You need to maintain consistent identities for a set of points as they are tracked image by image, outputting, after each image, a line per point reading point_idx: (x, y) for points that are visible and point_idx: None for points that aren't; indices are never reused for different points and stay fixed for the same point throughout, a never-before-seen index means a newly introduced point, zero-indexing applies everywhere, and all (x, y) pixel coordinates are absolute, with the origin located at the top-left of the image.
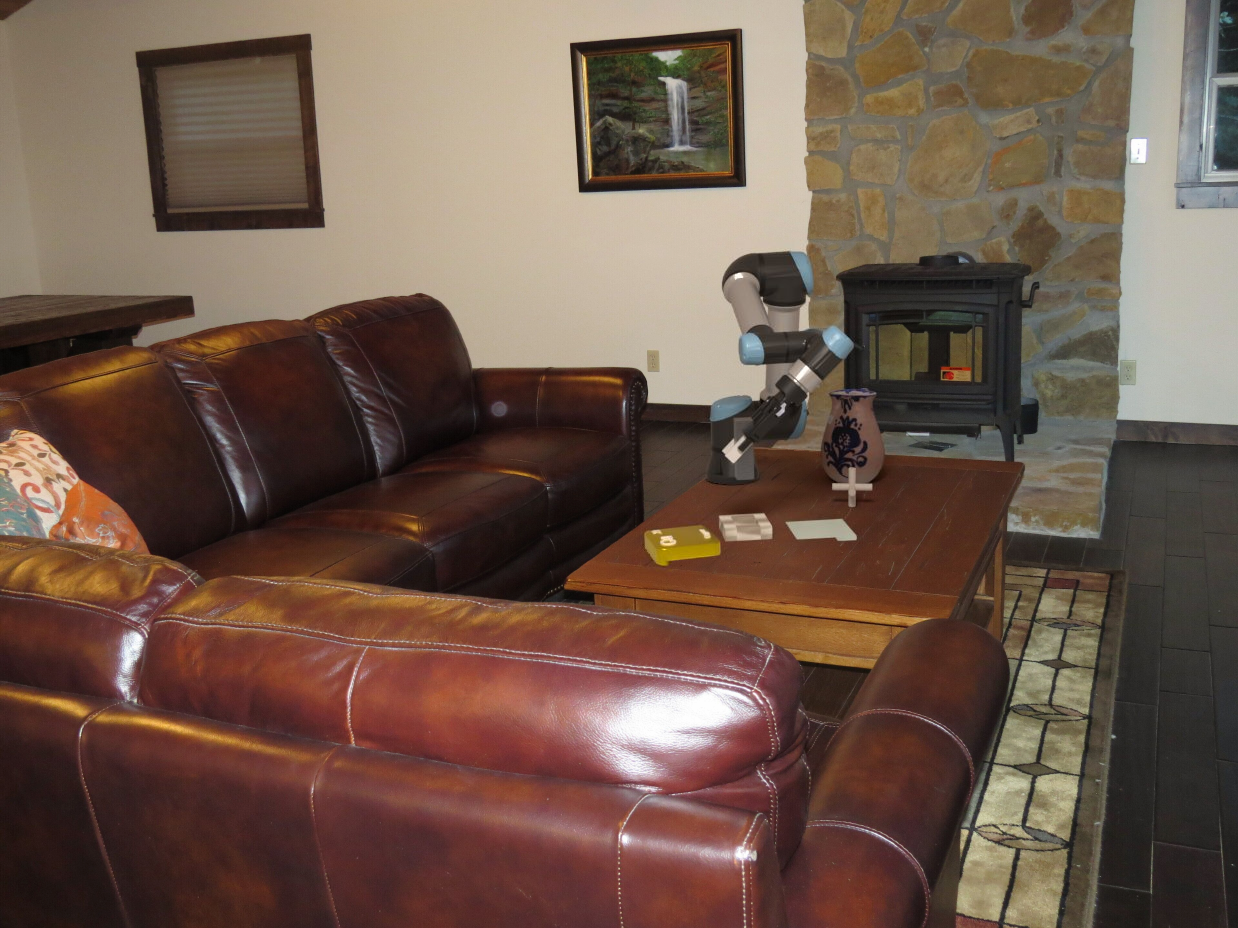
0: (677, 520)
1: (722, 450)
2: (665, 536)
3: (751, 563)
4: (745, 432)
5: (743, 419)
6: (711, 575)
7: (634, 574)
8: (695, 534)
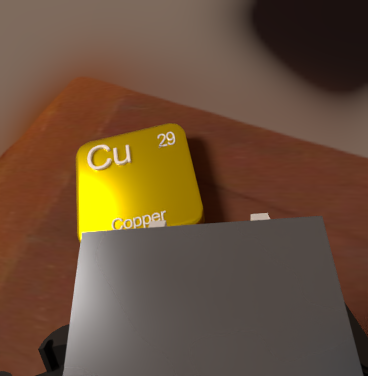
0: (343, 187)
1: (263, 214)
2: (128, 152)
3: (52, 310)
4: (57, 345)
5: (195, 366)
6: (20, 233)
7: (63, 131)
8: (138, 203)
